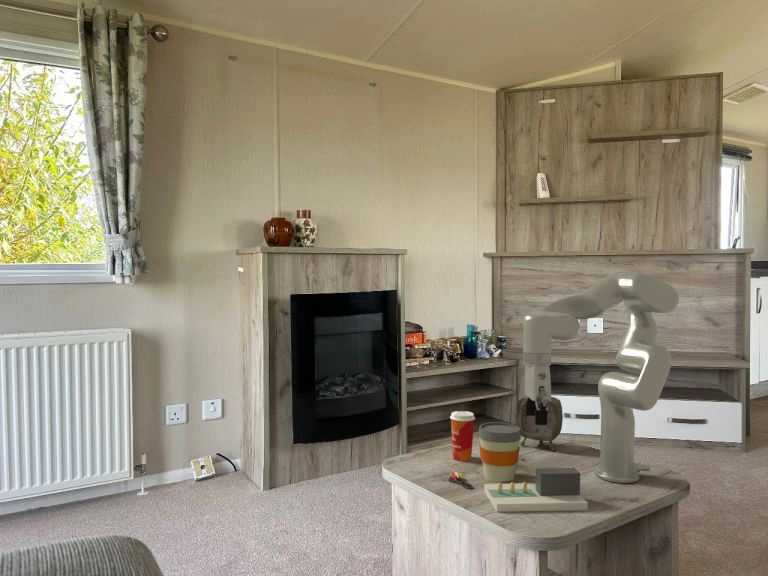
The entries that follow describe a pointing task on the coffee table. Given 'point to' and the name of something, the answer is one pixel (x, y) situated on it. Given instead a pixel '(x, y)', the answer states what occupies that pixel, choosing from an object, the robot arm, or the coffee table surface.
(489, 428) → the reusable coffee cup
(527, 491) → the board
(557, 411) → the tabletop clock
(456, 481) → the composite cable
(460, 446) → the coffee cup
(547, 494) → the block
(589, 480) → the coffee table surface
